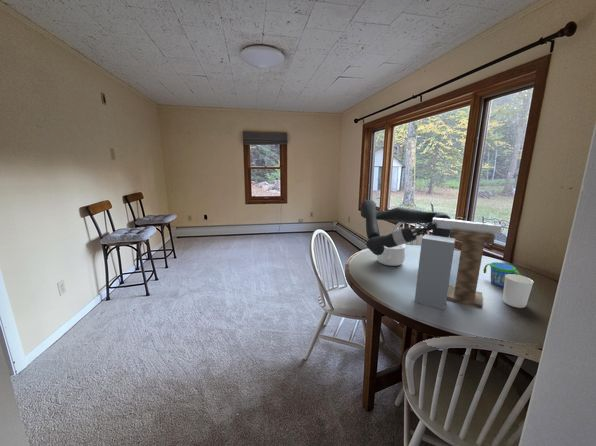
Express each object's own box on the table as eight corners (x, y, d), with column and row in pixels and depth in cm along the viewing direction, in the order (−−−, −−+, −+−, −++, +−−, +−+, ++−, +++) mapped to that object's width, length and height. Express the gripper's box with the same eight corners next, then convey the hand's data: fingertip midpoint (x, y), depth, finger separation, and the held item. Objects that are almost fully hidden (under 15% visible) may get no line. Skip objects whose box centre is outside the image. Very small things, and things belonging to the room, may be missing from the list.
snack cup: (522, 288, 134) (526, 269, 132) (511, 292, 130) (515, 273, 127) (489, 276, 148) (492, 259, 146) (477, 280, 143) (481, 262, 141)
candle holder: (494, 298, 124) (499, 274, 121) (514, 297, 125) (519, 273, 122) (513, 309, 114) (518, 283, 112) (534, 308, 115) (539, 283, 113)
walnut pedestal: (440, 297, 123) (450, 231, 116) (443, 286, 135) (452, 225, 128) (481, 308, 115) (494, 237, 108) (481, 295, 126) (493, 230, 119)
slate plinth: (414, 301, 120) (422, 238, 113) (417, 294, 126) (425, 234, 120) (444, 310, 113) (454, 243, 107) (446, 302, 120) (455, 238, 113)
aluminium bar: (431, 227, 125) (432, 218, 124) (432, 225, 128) (433, 217, 127) (500, 235, 111) (501, 226, 110) (499, 233, 114) (501, 224, 113)
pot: (384, 255, 180) (385, 238, 178) (410, 261, 169) (412, 243, 167) (369, 264, 164) (370, 245, 162) (396, 271, 153) (398, 251, 150)
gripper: (397, 232, 129) (431, 219, 120) (404, 226, 141) (435, 214, 131) (404, 246, 128) (438, 234, 119) (410, 239, 140) (442, 228, 131)
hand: (437, 224), depth 125 cm, fingers open, 8 cm apart
